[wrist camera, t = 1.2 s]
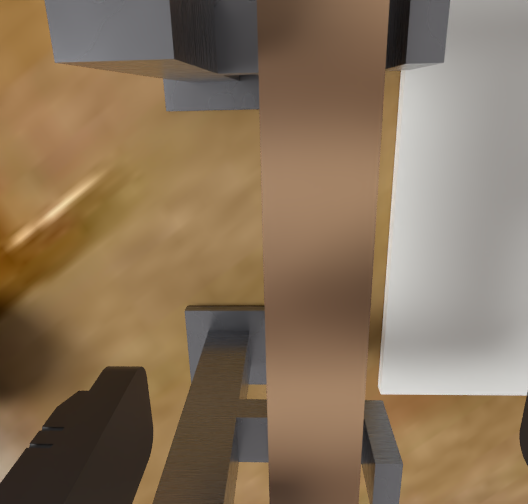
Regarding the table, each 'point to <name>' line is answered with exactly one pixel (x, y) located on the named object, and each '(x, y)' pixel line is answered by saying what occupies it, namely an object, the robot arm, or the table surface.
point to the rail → (318, 235)
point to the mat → (461, 214)
